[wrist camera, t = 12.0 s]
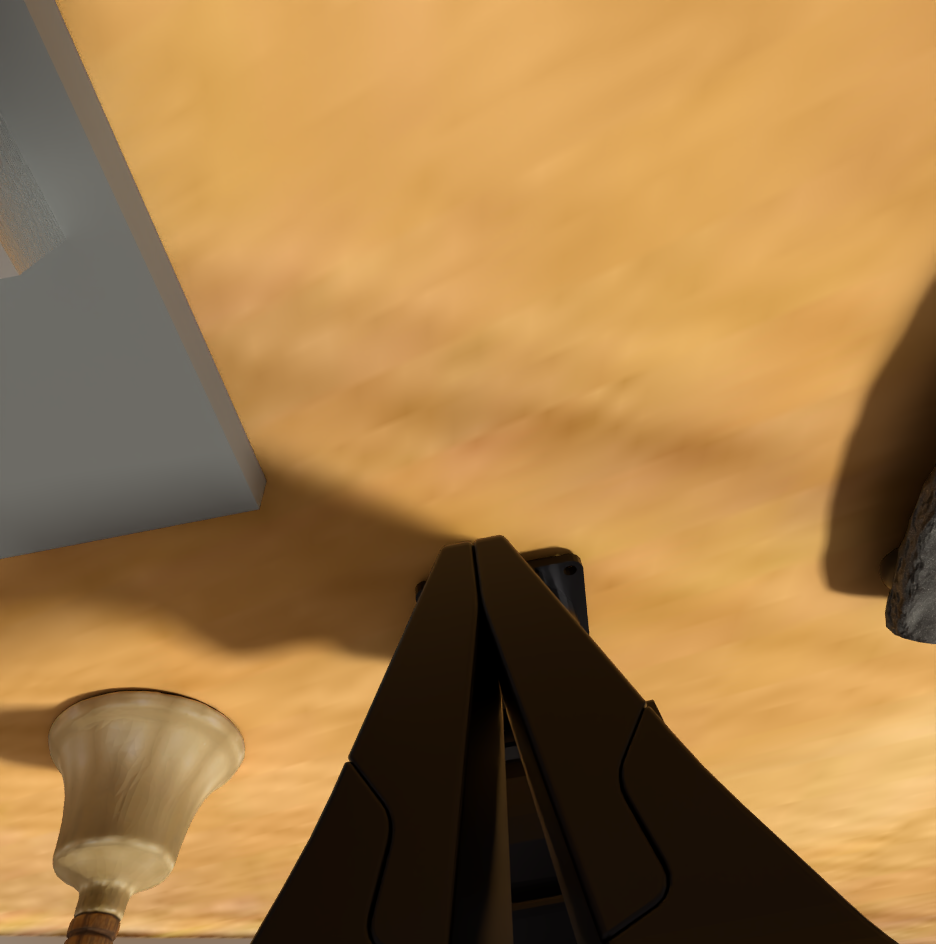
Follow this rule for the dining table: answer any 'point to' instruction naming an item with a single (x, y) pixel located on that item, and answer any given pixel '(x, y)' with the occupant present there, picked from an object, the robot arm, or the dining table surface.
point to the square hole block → (22, 212)
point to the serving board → (914, 573)
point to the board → (99, 333)
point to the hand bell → (132, 795)
